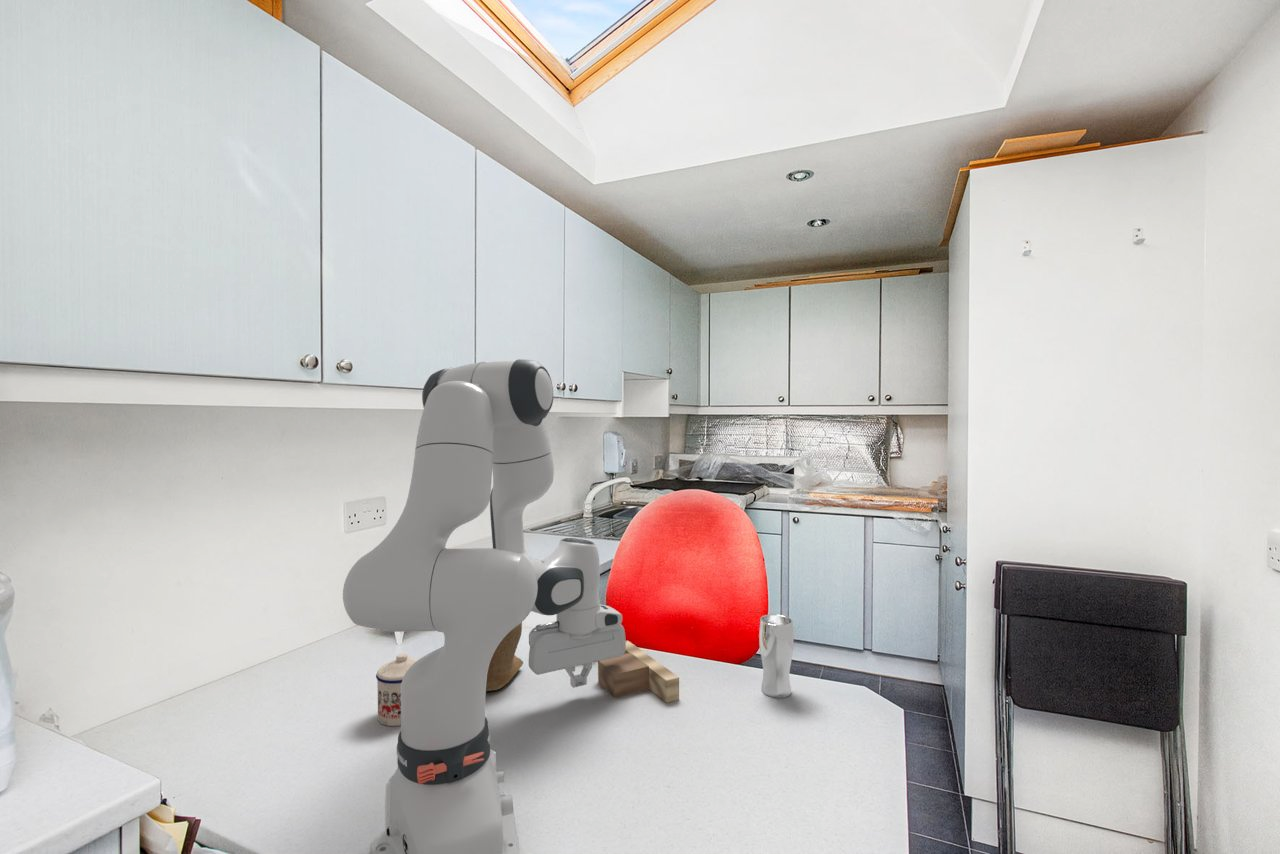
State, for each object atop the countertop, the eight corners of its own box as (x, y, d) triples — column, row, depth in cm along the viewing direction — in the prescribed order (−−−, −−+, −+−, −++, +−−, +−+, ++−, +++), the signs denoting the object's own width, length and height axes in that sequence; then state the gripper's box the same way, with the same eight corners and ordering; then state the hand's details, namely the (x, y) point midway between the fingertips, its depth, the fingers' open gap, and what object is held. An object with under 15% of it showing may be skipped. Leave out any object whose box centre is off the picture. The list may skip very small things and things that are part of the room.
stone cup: (507, 698, 118) (507, 625, 117) (454, 692, 120) (454, 621, 120) (537, 667, 132) (536, 602, 132) (489, 662, 135) (488, 598, 135)
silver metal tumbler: (768, 680, 126) (768, 611, 125) (799, 690, 121) (799, 618, 121) (753, 692, 120) (753, 620, 120) (784, 702, 116) (784, 628, 115)
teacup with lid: (366, 725, 108) (365, 663, 107) (394, 701, 116) (393, 644, 116) (425, 731, 106) (425, 667, 105) (450, 706, 115) (449, 648, 114)
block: (648, 689, 122) (648, 666, 122) (614, 699, 118) (614, 674, 118) (630, 675, 129) (630, 652, 129) (598, 683, 125) (598, 660, 125)
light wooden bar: (679, 699, 117) (679, 677, 117) (666, 702, 116) (666, 680, 116) (628, 659, 136) (628, 640, 136) (616, 662, 135) (616, 643, 135)
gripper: (534, 631, 110) (534, 704, 110) (629, 614, 120) (629, 680, 120) (523, 621, 116) (524, 690, 116) (615, 605, 125) (615, 669, 126)
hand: (578, 685), depth 118 cm, fingers closed
